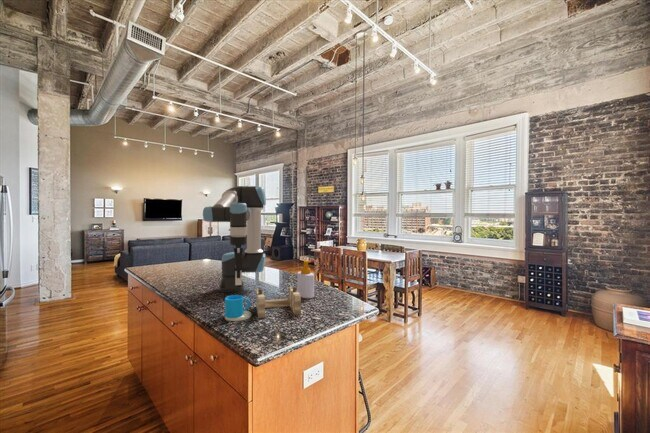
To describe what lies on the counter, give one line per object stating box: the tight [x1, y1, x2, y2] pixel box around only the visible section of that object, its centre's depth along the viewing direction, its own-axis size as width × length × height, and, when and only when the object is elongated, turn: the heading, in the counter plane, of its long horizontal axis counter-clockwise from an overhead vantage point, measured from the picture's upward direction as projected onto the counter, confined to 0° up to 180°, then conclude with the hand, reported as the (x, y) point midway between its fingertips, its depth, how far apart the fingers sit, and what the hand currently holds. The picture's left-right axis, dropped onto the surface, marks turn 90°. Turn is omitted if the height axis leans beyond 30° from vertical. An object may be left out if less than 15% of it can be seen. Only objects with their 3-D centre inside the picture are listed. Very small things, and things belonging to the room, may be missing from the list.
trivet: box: [224, 310, 252, 322], centre depth 137 cm, size 12×12×1 cm
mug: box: [224, 294, 251, 318], centre depth 138 cm, size 12×8×8 cm
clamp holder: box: [255, 286, 302, 319], centre depth 146 cm, size 16×20×11 cm
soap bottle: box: [296, 260, 315, 299], centre depth 172 cm, size 13×8×20 cm, turn 34°
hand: (238, 281), depth 138 cm, fingers open, 13 cm apart
